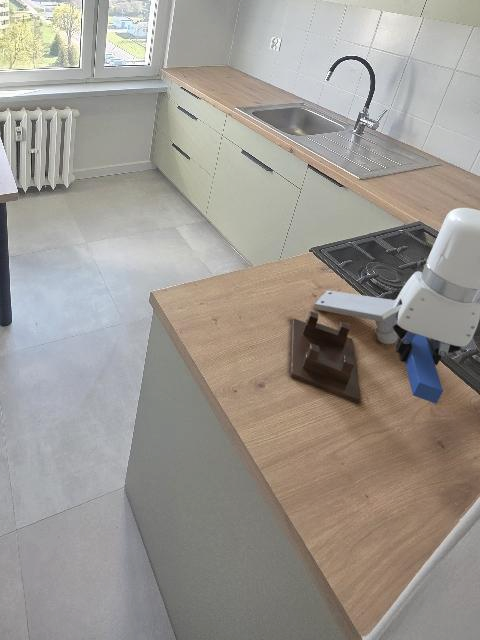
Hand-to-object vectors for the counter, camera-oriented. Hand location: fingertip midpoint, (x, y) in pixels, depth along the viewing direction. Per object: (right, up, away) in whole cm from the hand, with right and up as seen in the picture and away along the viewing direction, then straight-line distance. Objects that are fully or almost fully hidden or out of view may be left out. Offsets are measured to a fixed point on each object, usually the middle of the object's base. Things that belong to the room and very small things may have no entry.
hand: (413, 358), depth 75 cm
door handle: (+7, -3, +25) cm, 26 cm away
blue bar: (0, 0, 0) cm, 0 cm away
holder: (-9, -7, +13) cm, 18 cm away
